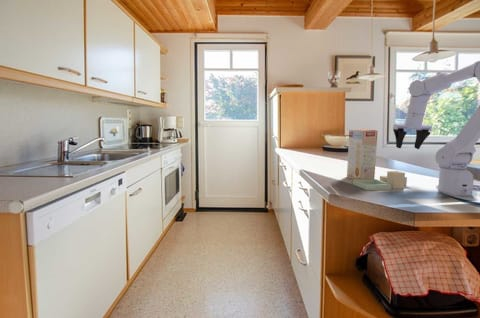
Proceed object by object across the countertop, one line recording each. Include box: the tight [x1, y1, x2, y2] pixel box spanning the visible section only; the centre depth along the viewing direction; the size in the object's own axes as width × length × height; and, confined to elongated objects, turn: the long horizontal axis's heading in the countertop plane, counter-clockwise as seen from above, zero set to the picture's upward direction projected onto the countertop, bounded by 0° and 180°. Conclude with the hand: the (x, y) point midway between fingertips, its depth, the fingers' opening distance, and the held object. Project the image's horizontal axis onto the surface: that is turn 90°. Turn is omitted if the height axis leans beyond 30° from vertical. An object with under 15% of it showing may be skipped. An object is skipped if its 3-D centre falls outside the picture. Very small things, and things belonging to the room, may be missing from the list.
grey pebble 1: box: [379, 175, 387, 183], centre depth 116 cm, size 3×3×3 cm
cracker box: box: [346, 128, 378, 181], centre depth 124 cm, size 14×6×21 cm, turn 1°
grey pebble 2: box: [404, 176, 408, 186], centre depth 116 cm, size 3×3×3 cm
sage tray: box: [352, 178, 392, 191], centre depth 113 cm, size 10×9×2 cm
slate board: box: [391, 185, 411, 190], centre depth 114 cm, size 8×8×1 cm
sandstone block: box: [386, 170, 406, 190], centre depth 111 cm, size 4×4×6 cm
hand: (407, 148), depth 122 cm, fingers open, 7 cm apart
